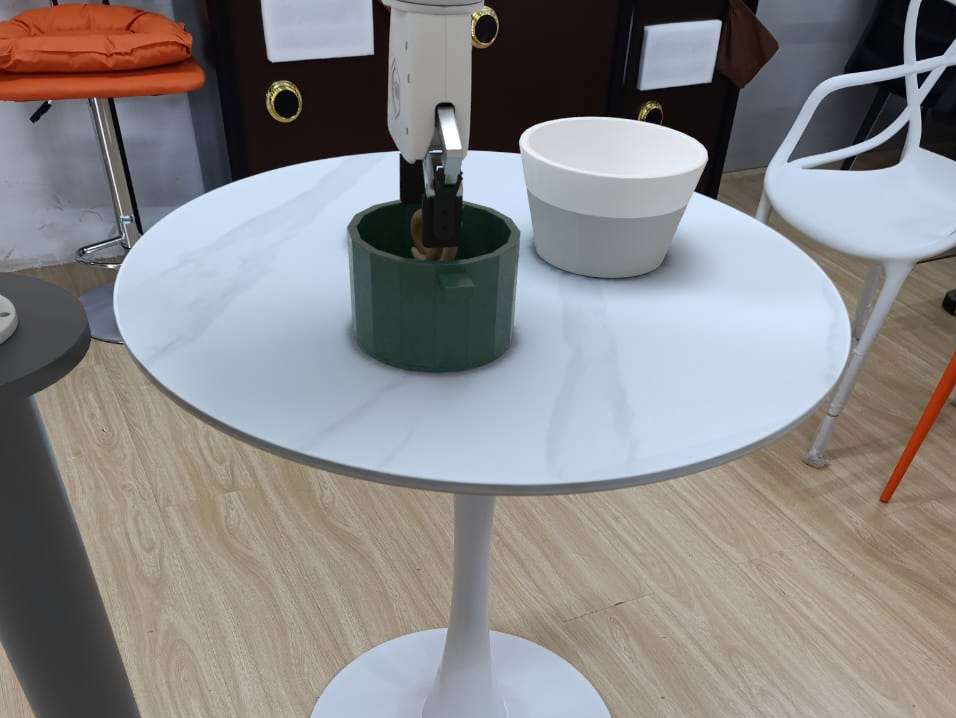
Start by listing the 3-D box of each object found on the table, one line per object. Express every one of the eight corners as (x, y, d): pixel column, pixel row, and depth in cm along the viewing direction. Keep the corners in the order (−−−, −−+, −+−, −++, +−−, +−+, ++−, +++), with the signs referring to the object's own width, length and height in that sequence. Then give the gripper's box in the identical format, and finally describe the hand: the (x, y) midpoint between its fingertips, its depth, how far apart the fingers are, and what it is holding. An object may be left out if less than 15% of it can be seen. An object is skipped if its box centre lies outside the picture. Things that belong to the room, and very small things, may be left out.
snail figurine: (434, 350, 82) (435, 210, 74) (388, 323, 85) (385, 187, 77) (478, 332, 85) (484, 196, 76) (433, 308, 88) (434, 174, 79)
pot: (372, 395, 77) (368, 283, 70) (340, 291, 91) (333, 190, 84) (539, 380, 80) (549, 272, 73) (483, 282, 94) (487, 184, 87)
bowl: (724, 268, 99) (749, 160, 91) (581, 303, 91) (595, 189, 84) (614, 208, 110) (628, 108, 103) (478, 235, 102) (483, 129, 95)
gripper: (363, -44, 71) (369, 188, 83) (403, 5, 60) (404, 267, 72) (457, -41, 73) (449, 186, 85) (514, 7, 61) (496, 263, 73)
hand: (428, 223), depth 78 cm, fingers open, 9 cm apart
